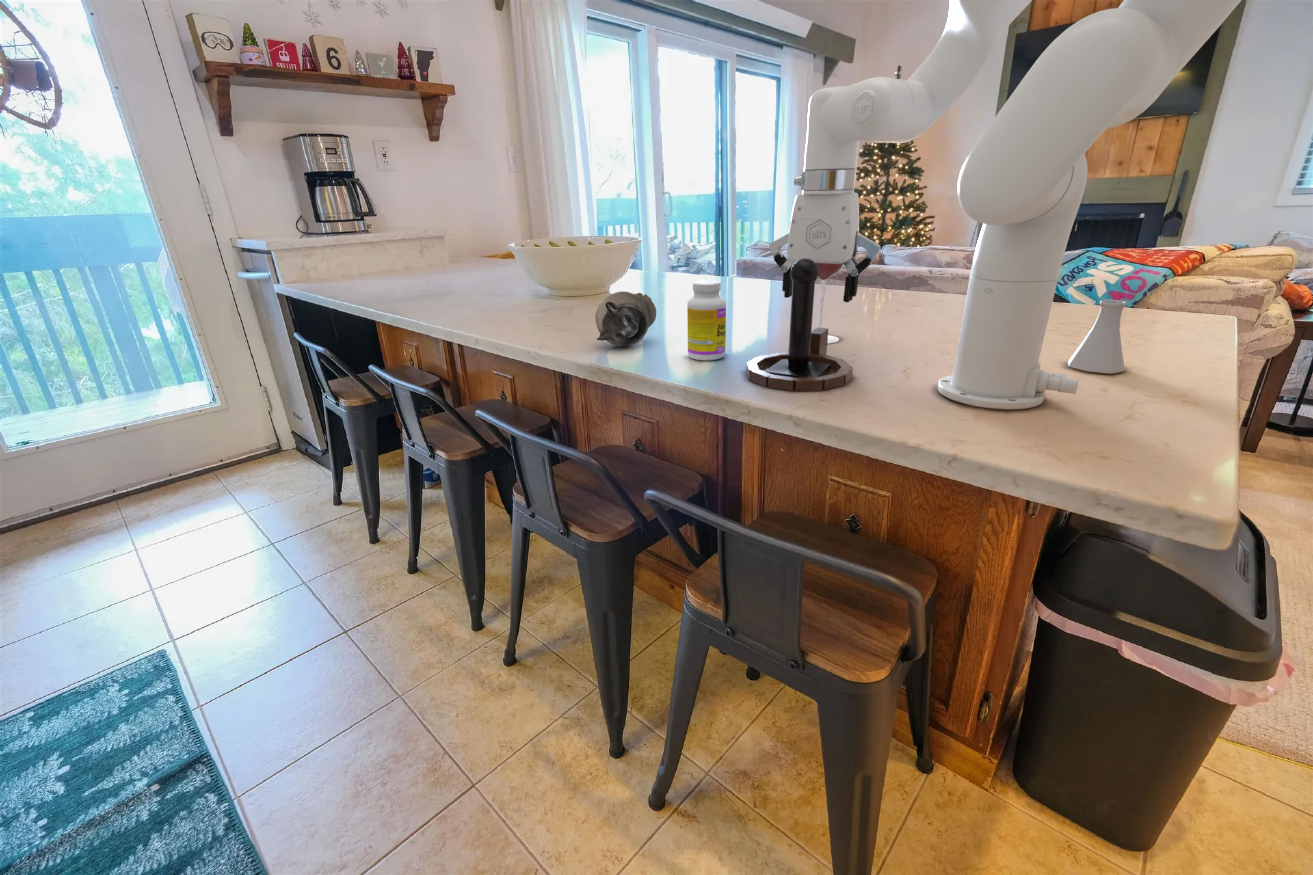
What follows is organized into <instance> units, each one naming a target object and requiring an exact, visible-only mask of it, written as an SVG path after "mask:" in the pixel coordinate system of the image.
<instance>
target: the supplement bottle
mask: <svg viewBox="0 0 1313 875" xmlns="http://www.w3.org/2000/svg"><path fill="white" fill-rule="evenodd" d="M721 283H722V282H721V281H718V280H696V281H693V283H692V290H693V296H692V297H690V298H689V299H688V301H687V304H686V305H687V308H686V309H687V310H686V311H687V355H688V356H689V358H691V359H692V360H697V361H715V360H716V361H717V360H719V359H722V358H723V357H724V356H725V354H726V340H727V337H726V336H727V335H726V334H727V333H726V332H727V331H726V330H727V302H726V300H725V298H724V297H722V296H721V295H720V291H721V288H722V287H721V286H722V285H721Z"/></svg>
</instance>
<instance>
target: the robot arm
mask: <svg viewBox="0 0 1313 875" xmlns="http://www.w3.org/2000/svg"><path fill="white" fill-rule="evenodd" d="M1032 1H1033V0H949V3H948V4H949V7H948V16H947V20H946V24H945V27H944V29H943V32H942V34H941V36H940V38H939V39H938V42H936V44H935V46H934V48H933V49H932V50H931V52H930V53H929V55H928V56H927V57H926V58H925V59H924V60H923V61H922V63H921V64H920V65H919V66H918V67H917V69H916V70H914V72H913V73H912V74H911V75H910V76H909V78H907V79H902V78H893V77H889V76H876V77H875V76H874V77H871V78H867V79H864V80H860V81H859V82H855V83H852V84H849V85H846V86H845V85H841V86H830V87H829V86H828V87H823V88H819V89H817V90H815V91H814V92H813V93H812V95H811V96H810V98H809V102H808V109H807V110H808V111H807V124H806V135H805V136H806V137H805V150H804V162H803V163H804V165H803V171H802V172H801V174H800V175H795V176H794V179H793V185H794V186H798V187H800V190H801V193H798V194H796V195H795V198H794V203H793V206H792V212H791V217H790V223H789V229H788V233H787V234H785V235H783V236H781V237H779V238H777V239H775V240H774V241H772V242H770V243H769V245H768V247H769V250H770V252H771V255H772V256H773V261H774V262H775V263H776V265H777V266H778V267H779V268H780V271H781V272H782V285H781V286H782V287H781V288H782V289H781V290H782V292H783V293H784V294H783V296H784V298H785V299H789V298H791V297H792V282H793V281H792V280H791V277H790V271H791V268H792V266H793V264H794V263H795V262H796V261H798V260H800V259H804V258H806V259H811V260H812V261H814V262H815V263H831V264H840V263H843V266H844V268H845V269H846V270H847V271H848V274H847V276H846V277H845V279H844V280H845V281H844V291H843V299H842V300H843V302H844V303H850V302H851V301H853V298H854V297H856V296H857V293H858V286H859V285H858V284H859V277H860V274H862V273H863V271H865V270H866V269H867V268H868V267H869V266H871V265H872V264H873V262H874V260H875V259H876V257H877V256H878V254H879V253H880V252H881V249H882V246H881V245H879V244H878V243H876V242H875V241H873V240H871V239H869V238H868V237H866V236H865V235H863V234H861V233H860V232H859V231H860V202H859V193H858V192H855V184H856V174H857V166H858V157H859V156H858V155H859V147H860V142H863V143H864V142H865V143H880V144H881V143H888V144H889V143H890V144H891V143H892V144H904V143H909V142H910V141H914V140H916V139H917V138H919V137H920V136H922V135H923V134H924V133H926V132H927V131H928V130H929V129H931V128H932V127H933V125H935V124H936V123H937V122H938V121H939V120H940V118H942V117H943V115H944V114H946V113H947V111H949V109H951V108H952V107H953V105H954V104H955V103H956V102H958V100H959V99H961V97H962V96H963V95H964V94H965V93H966V92H967V90H968V89H969V88H970V86H971V85H972V84H973V83H974V81H975V80H976V78H977V77H978V75H979V74H980V72H981V71H982V69H983V68H984V66H985V64H986V63H987V61H988V60H989V58H990V57H991V55H992V54H993V53H994V50H995V49H996V47H997V45H998V43H999V40H1000V39H1001V37H1002V35H1003V33H1004V32H1005V31H1006V30H1007V29H1008V27H1009V26H1010V25H1011V24H1012V23H1013V22H1014V21H1015V20H1016V18H1017V17H1018V16H1019V15H1020V14H1022V12H1023V11H1024V10H1025V9H1026V8H1027V7H1028V6H1029V5H1030V3H1031V2H1032ZM1241 2H1242V0H1123V1H1122V2H1121V3H1120V5H1119V6H1118V7H1115V8H1108V9H1107V8H1106V9H1103V10H1099V11H1096V12H1094V13H1091V14H1089V15H1087V16H1085V17H1083V18H1081V19H1079V20H1078V21H1076V22H1075V23H1073V24H1072V25H1070V26H1069V27H1067V28H1066V29H1065V30H1063V32H1061V33H1060V34H1059V35H1058V36H1057V37H1056V38H1055V39H1054V40H1053V41H1051V43H1050V44H1049V45H1048V46H1047V47H1046V49H1044V50H1043V52H1042V53H1041V54H1040V55H1039V56H1038V57H1037V59H1036V60H1035V62H1034V63H1033V65H1032V66H1031V67H1030V69H1029V70H1028V71H1027V72H1026V74H1025V75H1024V76H1023V78H1022V80H1021V81H1020V82H1019V84H1017V86H1016V88H1015V89H1014V91H1013V92H1012V93H1011V95H1010V96H1008V99H1007V100H1006V102H1005V103H1004V104H1003V105H1002V107H1001V108H1000V109H999V110H998V112H997V114H996V115H995V117H994V118H993V119H992V121H991V122H990V124H989V125H988V126H987V128H986V129H985V130H984V132H983V133H982V134H981V136H980V137H979V139H978V140H977V142H976V143H975V144H974V146H973V147H972V149H971V150H970V152H969V153H968V156H966V159H965V161H964V163H963V164H962V167H961V169H960V172H959V176H958V179H957V190H956V191H957V199H958V202H959V205H960V208H961V209H962V211H963V212H964V213H965V214H966V215H967V216H968V217H969V218H971V219H972V220H973V221H975V222H978V223H979V224H982V227H981V230H980V232H979V236H978V238H977V242H976V246H975V249H974V254H973V258H972V263H971V269H970V275H969V278H968V284H967V289H966V295H965V301H964V306H963V312H962V318H961V324H960V329H959V335H958V341H957V346H956V352H955V358H954V362H953V369H952V374H950V375H946V376H943V377H942V378H940V379H939V380H938V383H937V391H938V392H939V394H941V396H943V397H945V398H947V399H949V400H952V401H953V402H957V403H959V404H964V405H968V406H972V407H979V408H983V409H993V410H1025V409H1031V408H1035V407H1038V406H1039V405H1041V404H1042V403H1043V402H1044V401H1045V397H1046V396H1045V395H1046V390H1047V391H1055V392H1058V393H1064V394H1072V395H1073V394H1074V395H1075V394H1076V393H1077V390H1078V386H1079V382H1080V381H1079V380H1080V379H1079V378H1076V377H1068V376H1067V375H1066V373H1056V372H1054V373H1052V372H1051V373H1050V372H1045V370H1044V369H1041V361H1040V356H1041V352H1042V348H1043V344H1044V340H1045V335H1046V331H1047V326H1048V323H1049V318H1050V314H1051V310H1052V305H1053V303H1054V298H1055V292H1056V289H1057V286H1058V280H1059V278H1060V274H1061V269H1062V265H1063V261H1064V258H1065V253H1066V249H1067V245H1068V242H1069V240H1070V235H1071V232H1072V229H1073V225H1074V223H1075V220H1076V217H1077V214H1078V212H1079V209H1080V206H1081V203H1082V200H1083V197H1084V195H1085V194H1084V193H1085V190H1086V186H1087V181H1088V162H1087V157H1086V152H1088V151H1089V149H1090V148H1091V147H1092V146H1093V145H1094V144H1095V142H1096V141H1097V140H1098V139H1099V138H1100V137H1101V135H1102V134H1103V133H1104V132H1105V131H1106V130H1108V129H1112V128H1116V127H1119V126H1122V125H1124V124H1126V123H1128V122H1131V121H1132V120H1134V119H1136V118H1137V117H1138V116H1140V115H1141V114H1143V113H1144V112H1145V111H1146V110H1147V109H1148V108H1149V107H1150V106H1152V105H1153V104H1154V103H1155V102H1156V101H1157V100H1158V98H1159V97H1160V96H1161V94H1162V93H1163V92H1164V91H1165V90H1166V88H1168V86H1169V85H1170V83H1171V82H1173V80H1174V79H1175V78H1176V76H1178V74H1179V73H1180V72H1181V70H1182V69H1183V68H1184V67H1185V66H1186V65H1187V64H1188V63H1189V62H1190V61H1191V59H1192V58H1193V57H1194V56H1195V55H1196V54H1197V52H1199V50H1200V49H1201V48H1202V47H1203V45H1205V43H1206V42H1207V41H1208V40H1209V39H1210V38H1211V36H1212V35H1214V33H1215V32H1216V31H1217V30H1218V29H1219V27H1221V25H1222V24H1223V23H1224V21H1225V20H1227V18H1228V17H1229V16H1230V14H1232V12H1233V11H1234V10H1235V9H1236V7H1237V6H1238V5H1239V4H1240V3H1241ZM785 245H786V256H785V255H784V254H783V252H782V247H784V246H785ZM859 246H860V247H861V248H863V249H865V250H866V254H865V256H864V258H863V259H862V260H861V261H859V262H858V260H857V259H856V258H855V257H856V256H857V253H858V247H859Z"/></svg>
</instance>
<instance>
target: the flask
mask: <svg viewBox="0 0 1313 875" xmlns="http://www.w3.org/2000/svg"><path fill="white" fill-rule="evenodd" d="M1127 305H1128V302H1127V301H1126V300H1124V301H1123V300H1120V299H1119V300H1118V299H1102V300H1100V301H1099V306H1100V309H1099V312H1098V315H1097V317H1096V319H1095V322H1094V323H1093V325H1092V327H1091V328H1090V330H1089V331H1088V332H1087V334H1086V336H1085V337H1084V339H1083V340H1082V342H1081V343H1080V344H1079V345H1078V347H1077V348H1076V350H1074V352H1073V354H1072V355H1071V356H1070V358H1069V359H1068V361H1067V366H1068V367H1069V368H1073V369H1077V370H1081V371H1085V372H1091V373H1102V374H1111V375H1112V374H1116V373H1122V372H1125V371H1126V370H1125V362H1124V355H1123V349H1122V340H1121V318H1122V313H1123V310H1124V308H1125V307H1127Z"/></svg>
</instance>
